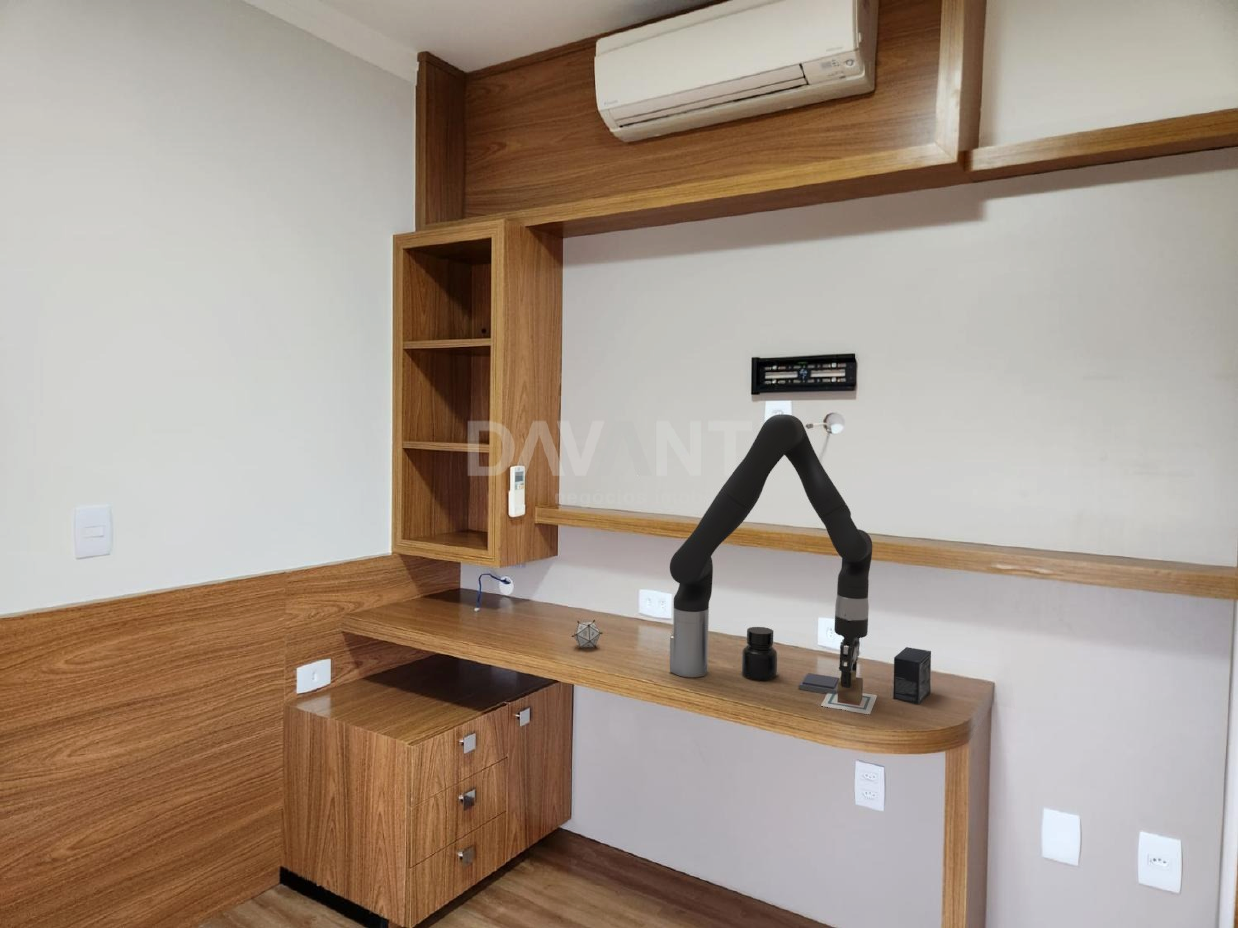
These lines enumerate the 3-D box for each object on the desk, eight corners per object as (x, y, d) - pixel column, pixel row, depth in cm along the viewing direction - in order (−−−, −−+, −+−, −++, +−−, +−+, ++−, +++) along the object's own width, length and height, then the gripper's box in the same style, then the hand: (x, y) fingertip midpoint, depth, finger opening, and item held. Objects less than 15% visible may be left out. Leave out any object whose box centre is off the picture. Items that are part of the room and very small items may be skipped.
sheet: (820, 706, 175) (820, 705, 175) (830, 688, 187) (830, 687, 187) (870, 714, 170) (870, 713, 170) (876, 696, 182) (876, 694, 182)
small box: (904, 686, 189) (905, 645, 189) (931, 692, 185) (932, 650, 185) (891, 698, 181) (892, 655, 180) (919, 705, 177) (921, 661, 176)
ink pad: (798, 689, 186) (799, 682, 186) (806, 678, 194) (806, 671, 194) (836, 695, 182) (836, 688, 182) (842, 683, 190) (842, 677, 190)
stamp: (837, 701, 177) (838, 672, 177) (840, 695, 182) (841, 666, 182) (859, 705, 175) (860, 676, 175) (862, 698, 180) (863, 669, 179)
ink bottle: (784, 675, 196) (785, 630, 196) (766, 684, 190) (767, 637, 189) (752, 667, 203) (753, 623, 202) (734, 675, 196) (735, 629, 195)
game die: (589, 658, 220) (605, 628, 224) (595, 656, 212) (611, 625, 216) (563, 643, 220) (579, 613, 223) (567, 641, 212) (584, 610, 216)
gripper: (840, 605, 185) (837, 669, 187) (830, 619, 173) (827, 688, 174) (872, 609, 182) (868, 675, 183) (863, 623, 169) (860, 693, 170)
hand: (848, 681), depth 178 cm, fingers open, 8 cm apart
